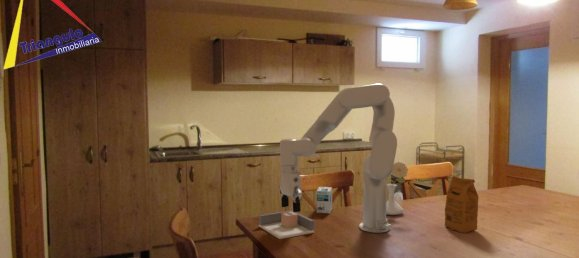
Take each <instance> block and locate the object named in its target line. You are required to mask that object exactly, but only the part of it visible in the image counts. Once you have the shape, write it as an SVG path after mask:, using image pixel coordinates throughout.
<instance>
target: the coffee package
mask: <svg viewBox="0 0 579 258" xmlns="http://www.w3.org/2000/svg"><path fill="white" fill-rule="evenodd" d="M475 182H476V181H475V179H473V178H462V177H459V176H457V175H455V174H454V175H452V178H451V180H450V183H449V187H448V190H447V192H446V200H445V207H444V227H445V226H446V227H445V228H449V229H451V230H452V231H453V230H456V231H455V232H457V231H459V232H458V233H461V232H462V234H466V233H469V232H473V231H474V232H475V231H477V230H478V215H479V213H478V210H479V194H478V191H477V189H476V187H475Z"/></svg>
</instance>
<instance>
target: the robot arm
mask: <svg viewBox="0 0 579 258" xmlns="http://www.w3.org/2000/svg"><path fill="white" fill-rule="evenodd" d="M390 94H391V93H390V89H389V87H387V86H386V85H385V84H382V83H374V84H367V85H362V86H361V85H360V86H353V87H345V88H343V89H340V91H339V92H338V93H337V94H336V95H335V96H334V98H332V99H333V100H331V102H330V103H329V104H328V105H327V106H326V108H325V109H324V110H323V111H322V112H321V114H320V115H319V116H318V118H317V119H316V120H315V122H313V124H312V125H311V126H310V127H309V128H308V130H307V131H306V132H305V133H304V134H303V136H302V137H301V138H300V139H295V138H284V139H281V140H280V142H279V157H280V185H279V187H278V188H279V192H280V193H279V194H280V198H281V199H280V201H281V208H287V207H289V206H290V205H289V201H290V200H289V198H292V201H293V202H292V210H293V212H297V213H299V212H301V200H302V197H303V192H302V183H301V176H300V171H299V157H304V158H305V157H306V158H309V157H313V156H314V155H315V154H316V152H317V150H318V148H317V147H318V146H319V144H320V143H321V142H322V140H323V139H324V138H326V137H327V136H328V135H329V134H330V133H331V132H333V131H334V130H336V129H337V128H338V126H340V124H341V123H342V122H343V121H344V119H346V117H347V116H348V114H350V113H351V111H352V110H353V109H362V108H363V109H364V108H369V107H370V108H371V107H372V111H373V115H372V124H371V128H370V134H369V138H368V143H369V145H370V146H371V151H370V153H369V154H367V155H366V156H365V158H364V159H363V162H362V174H363V175H362V177H363V193H362V195H363V197H362V198H363V199H362V204H363V205H362V206H363V207H362V208H363V209H362V222H361V223H359V225H358V227H359V229H360V230H362V231H364V232H367V233H374V234H382V233H387V232H389V231H390V230H391V228H392V227H393V225H392V224H390V223H388V222H389V220H388V219H387V214H386V204H387V201H388V199H387V197H388V195H387V194H388V192H387V191H388V187H387V184H388V183H387V182H388V181H387V180H388V179H389V177H390V176H391V175H392V170H393V165H394V164H395V158H396V153H397V147H398V138H397V135H396V134H395V133H394V132H393V130H394V123H395V115H396V112H395V106H394V103H393V100H392V99H391V97H390V96H391V95H390ZM387 178H388V179H387Z"/></svg>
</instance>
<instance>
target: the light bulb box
mask: <svg viewBox="0 0 579 258" xmlns="http://www.w3.org/2000/svg"><path fill="white" fill-rule="evenodd" d="M332 209H333V187H329V186H319V187H318V188H317V190H316V214H317V213H318V214H331V211H332Z"/></svg>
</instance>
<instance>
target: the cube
mask: <svg viewBox="0 0 579 258" xmlns="http://www.w3.org/2000/svg"><path fill="white" fill-rule="evenodd" d="M281 225H283V226H284V227H286V228H290V227H296V226H298V214H296V213H294V212H286V213H281Z"/></svg>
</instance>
